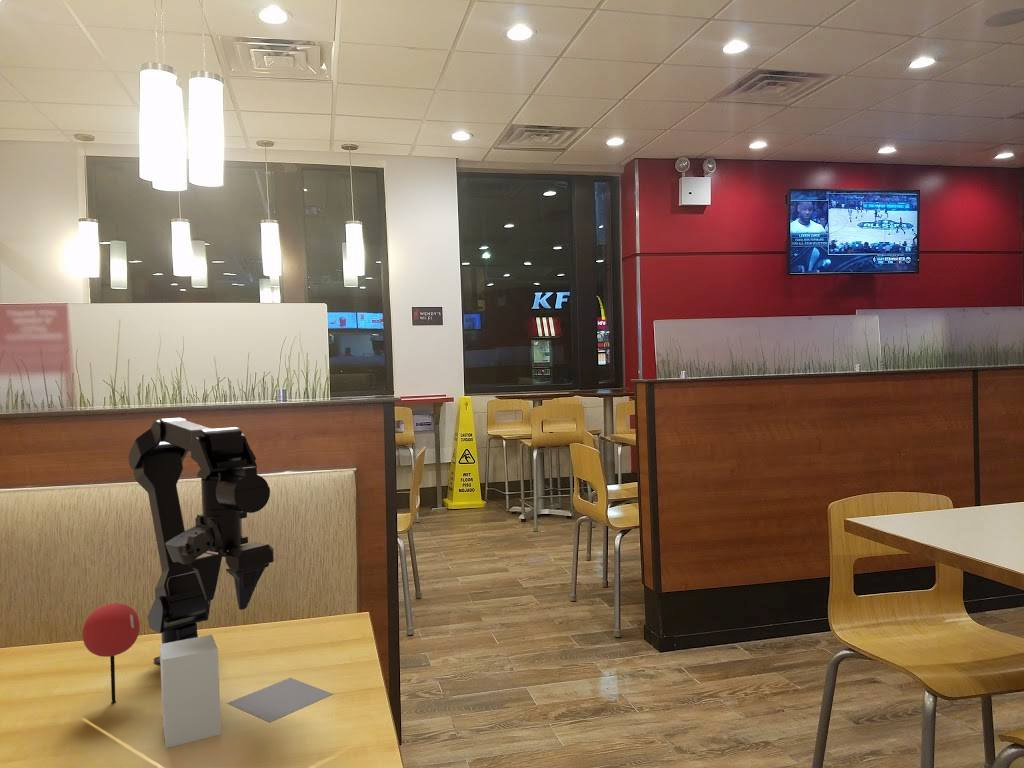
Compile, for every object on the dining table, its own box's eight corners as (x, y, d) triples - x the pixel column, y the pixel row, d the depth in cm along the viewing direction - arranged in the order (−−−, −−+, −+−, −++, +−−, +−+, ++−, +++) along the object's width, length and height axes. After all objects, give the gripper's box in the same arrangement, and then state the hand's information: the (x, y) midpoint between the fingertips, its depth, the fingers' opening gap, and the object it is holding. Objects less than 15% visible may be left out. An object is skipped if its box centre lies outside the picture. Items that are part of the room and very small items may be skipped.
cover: (163, 729, 102) (159, 644, 102) (215, 717, 105) (211, 634, 105) (166, 750, 96) (162, 659, 96) (221, 736, 99) (217, 649, 99)
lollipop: (84, 718, 106) (79, 616, 106) (87, 698, 113) (83, 602, 113) (142, 705, 110) (138, 606, 110) (142, 687, 117) (138, 594, 117)
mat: (227, 705, 109) (227, 702, 109) (290, 680, 117) (290, 677, 117) (269, 725, 102) (269, 722, 102) (333, 696, 111) (333, 693, 111)
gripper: (141, 510, 115) (145, 609, 115) (207, 520, 104) (212, 630, 104) (207, 499, 124) (210, 591, 124) (274, 507, 113) (278, 608, 113)
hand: (225, 604), depth 116 cm, fingers open, 9 cm apart
